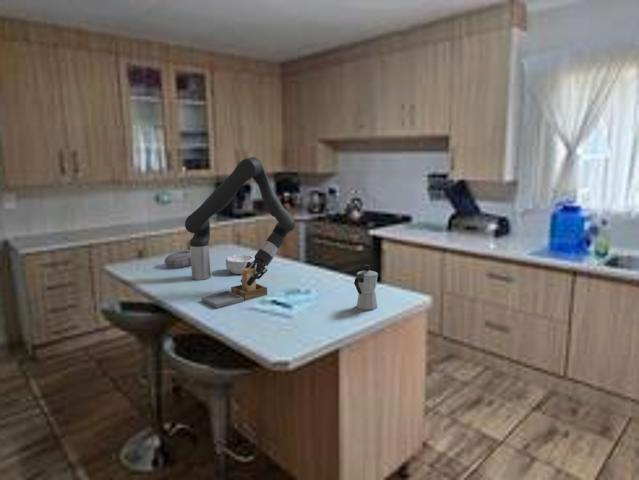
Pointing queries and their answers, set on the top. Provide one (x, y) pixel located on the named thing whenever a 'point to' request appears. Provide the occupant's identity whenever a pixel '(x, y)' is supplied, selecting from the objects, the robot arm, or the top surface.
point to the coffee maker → (366, 289)
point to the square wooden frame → (250, 292)
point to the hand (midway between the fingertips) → (245, 283)
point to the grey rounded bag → (178, 260)
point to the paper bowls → (238, 262)
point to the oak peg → (245, 277)
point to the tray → (222, 299)
